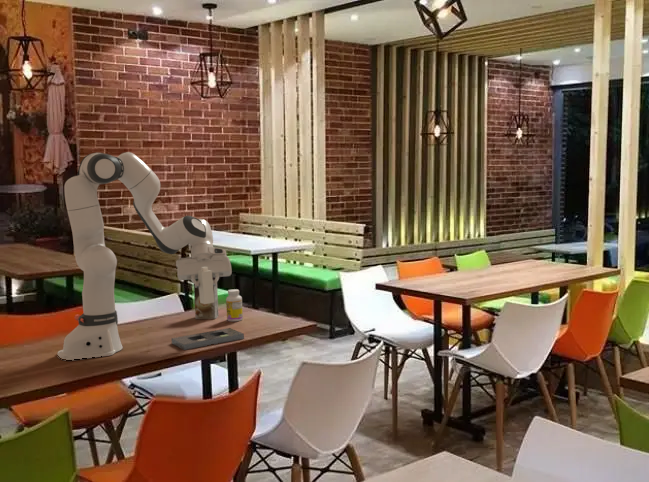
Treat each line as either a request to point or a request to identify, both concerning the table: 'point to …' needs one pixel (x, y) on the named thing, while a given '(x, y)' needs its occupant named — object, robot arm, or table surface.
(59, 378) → the table surface
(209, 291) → the plug
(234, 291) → the supplement bottle
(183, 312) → the table surface
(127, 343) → the table surface
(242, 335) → the panel
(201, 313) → the coffee box
